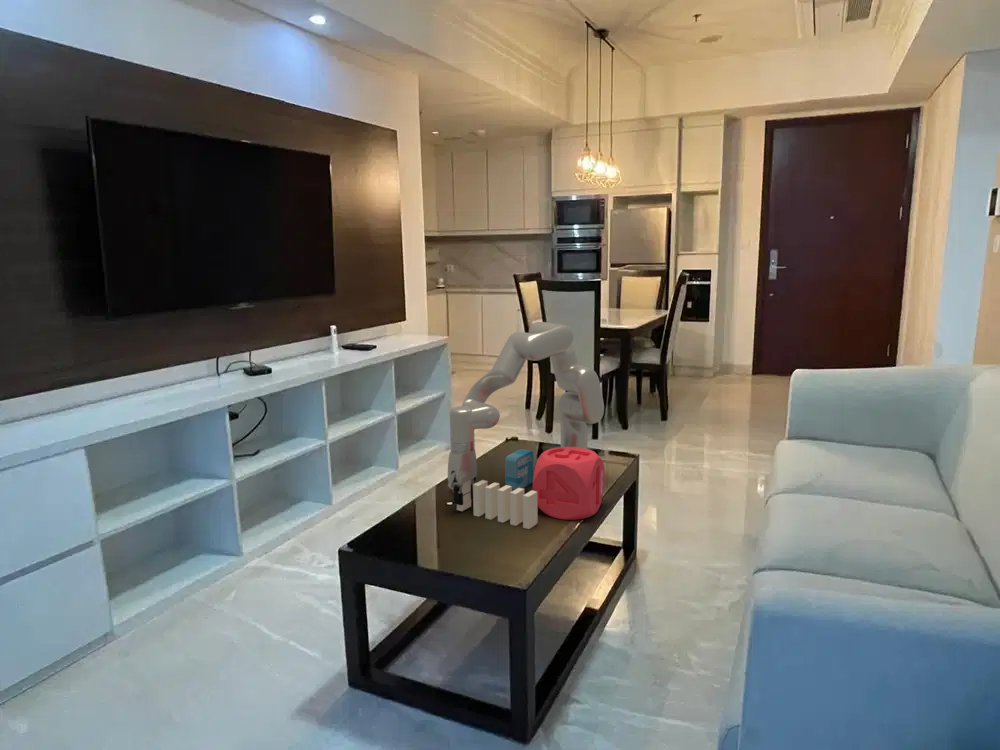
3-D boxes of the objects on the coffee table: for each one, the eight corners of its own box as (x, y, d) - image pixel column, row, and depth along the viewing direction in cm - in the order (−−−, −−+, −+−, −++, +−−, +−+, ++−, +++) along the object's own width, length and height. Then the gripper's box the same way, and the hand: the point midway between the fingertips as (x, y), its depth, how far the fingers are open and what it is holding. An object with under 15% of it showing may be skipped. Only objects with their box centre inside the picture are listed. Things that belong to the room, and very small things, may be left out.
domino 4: (497, 521, 201) (497, 489, 200) (506, 515, 206) (506, 485, 204) (503, 522, 200) (502, 491, 199) (512, 517, 204) (511, 486, 203)
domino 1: (456, 510, 210) (455, 479, 208) (466, 504, 214) (465, 475, 212) (462, 511, 209) (461, 480, 207) (471, 506, 213) (470, 476, 211)
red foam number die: (588, 524, 198) (588, 466, 195) (532, 515, 206) (531, 459, 203) (604, 503, 214) (605, 450, 211) (552, 496, 222) (552, 443, 219)
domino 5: (510, 524, 199) (509, 492, 197) (519, 518, 203) (518, 487, 201) (515, 525, 198) (515, 493, 196) (524, 520, 202) (524, 488, 200)
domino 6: (523, 527, 197) (522, 495, 195) (531, 521, 201) (531, 490, 199) (528, 529, 195) (528, 496, 194) (537, 523, 200) (537, 491, 198)
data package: (516, 492, 225) (516, 458, 223) (505, 490, 228) (504, 456, 226) (533, 482, 235) (533, 449, 233) (522, 480, 238) (522, 447, 236)
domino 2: (473, 515, 206) (472, 484, 204) (482, 510, 210) (482, 479, 209) (478, 516, 205) (478, 485, 203) (488, 511, 209) (487, 481, 208)
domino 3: (485, 518, 204) (484, 487, 202) (494, 513, 208) (494, 482, 206) (490, 519, 203) (490, 488, 201) (499, 514, 207) (499, 483, 205)
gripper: (468, 438, 217) (470, 491, 220) (436, 451, 203) (437, 507, 206) (487, 441, 213) (488, 495, 216) (455, 454, 199) (457, 512, 202)
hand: (464, 500), depth 211 cm, fingers closed on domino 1, 5 cm apart
